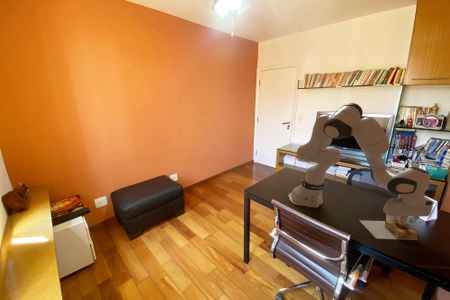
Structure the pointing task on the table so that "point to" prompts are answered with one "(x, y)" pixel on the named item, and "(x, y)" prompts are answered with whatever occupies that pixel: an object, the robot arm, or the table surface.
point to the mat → (379, 230)
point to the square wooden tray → (401, 230)
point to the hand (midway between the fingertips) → (402, 221)
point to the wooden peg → (402, 222)
